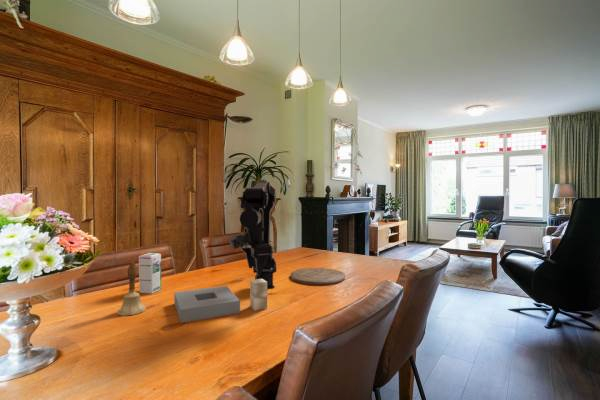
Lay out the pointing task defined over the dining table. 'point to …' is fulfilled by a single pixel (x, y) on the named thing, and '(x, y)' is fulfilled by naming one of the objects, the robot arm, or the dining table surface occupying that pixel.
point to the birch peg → (258, 294)
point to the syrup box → (150, 273)
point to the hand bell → (131, 296)
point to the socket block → (205, 303)
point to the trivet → (317, 276)
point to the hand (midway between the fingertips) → (254, 271)
